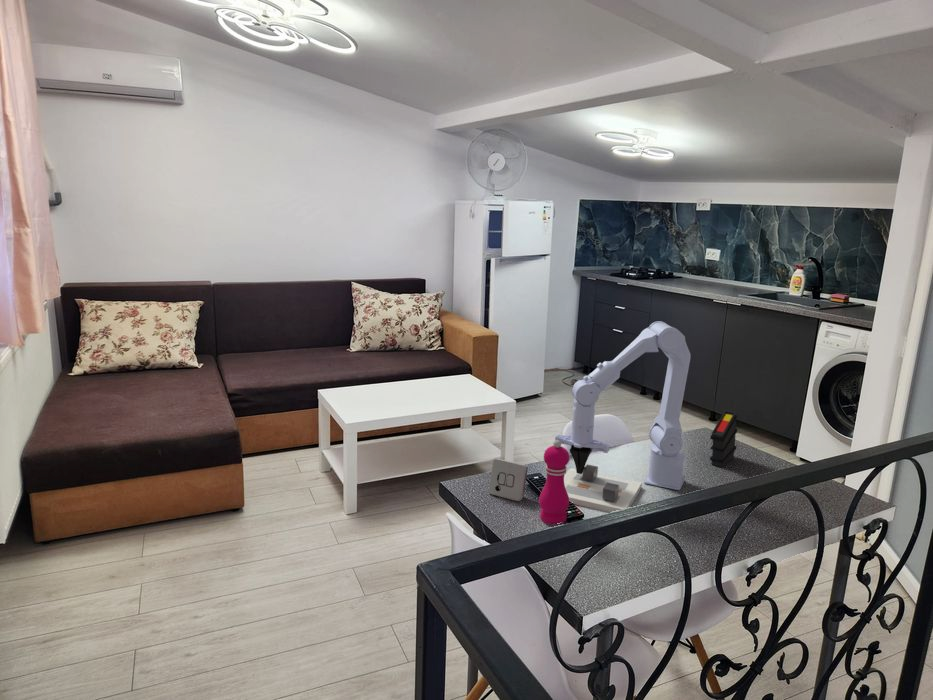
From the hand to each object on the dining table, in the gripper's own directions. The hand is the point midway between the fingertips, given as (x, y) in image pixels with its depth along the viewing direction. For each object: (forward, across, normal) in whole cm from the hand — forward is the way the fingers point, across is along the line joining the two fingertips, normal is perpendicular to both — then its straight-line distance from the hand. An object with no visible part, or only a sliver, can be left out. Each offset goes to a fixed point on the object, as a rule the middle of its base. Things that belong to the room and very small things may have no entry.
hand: (580, 472), depth 179 cm
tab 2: (+1, +11, -9) cm, 14 cm away
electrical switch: (+3, -14, -17) cm, 22 cm away
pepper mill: (+3, +1, -24) cm, 24 cm away
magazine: (+3, +33, +34) cm, 48 cm away
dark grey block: (+1, +3, 0) cm, 3 cm away
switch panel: (+3, +6, -4) cm, 8 cm away
